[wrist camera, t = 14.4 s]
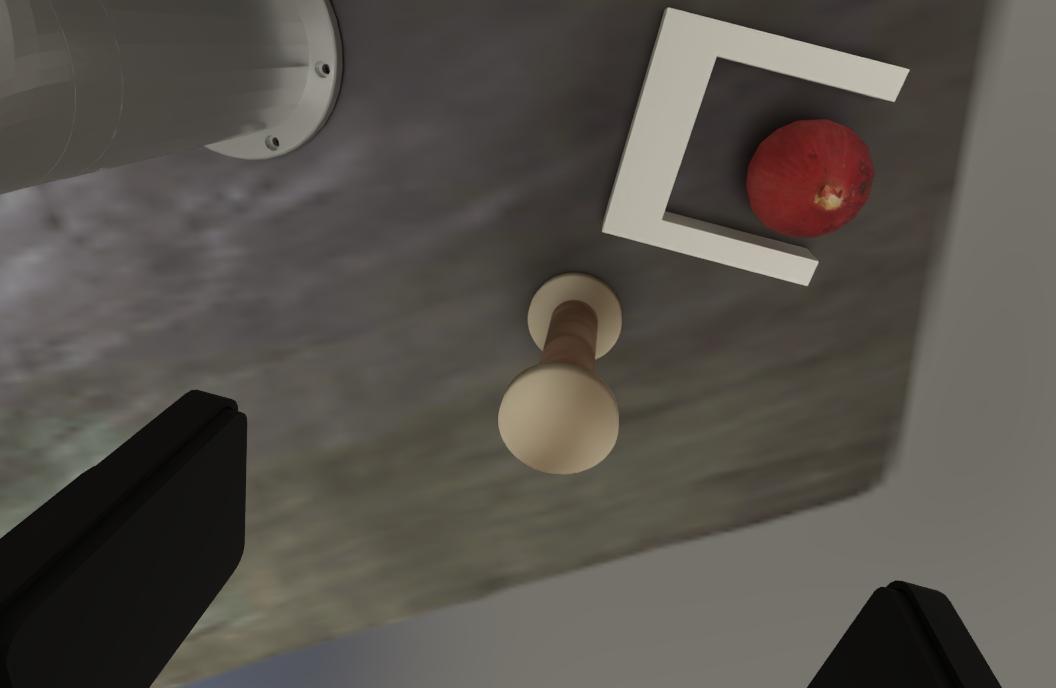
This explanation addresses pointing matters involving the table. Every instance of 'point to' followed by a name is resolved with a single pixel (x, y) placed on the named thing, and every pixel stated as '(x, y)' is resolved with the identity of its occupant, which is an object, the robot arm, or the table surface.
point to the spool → (565, 379)
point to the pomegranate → (809, 178)
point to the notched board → (670, 119)
